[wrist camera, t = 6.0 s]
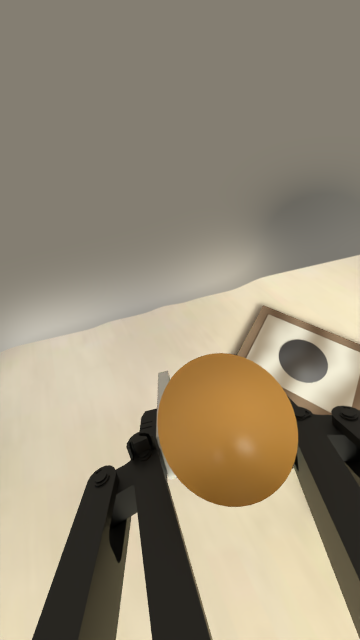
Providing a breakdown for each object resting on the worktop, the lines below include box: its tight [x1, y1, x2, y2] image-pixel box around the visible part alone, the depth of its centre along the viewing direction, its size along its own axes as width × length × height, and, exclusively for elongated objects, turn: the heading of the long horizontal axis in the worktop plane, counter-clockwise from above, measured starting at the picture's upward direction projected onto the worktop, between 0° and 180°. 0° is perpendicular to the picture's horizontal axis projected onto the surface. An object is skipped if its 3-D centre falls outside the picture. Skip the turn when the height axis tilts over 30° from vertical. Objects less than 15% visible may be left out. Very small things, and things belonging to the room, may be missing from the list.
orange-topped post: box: [157, 353, 298, 507], centre depth 13 cm, size 5×5×13 cm
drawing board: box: [237, 306, 360, 415], centre depth 33 cm, size 18×14×2 cm
